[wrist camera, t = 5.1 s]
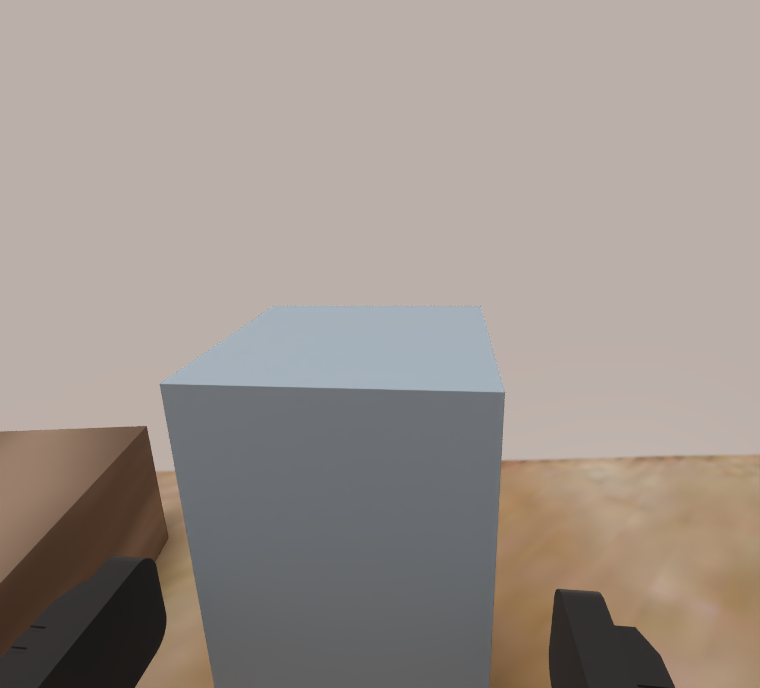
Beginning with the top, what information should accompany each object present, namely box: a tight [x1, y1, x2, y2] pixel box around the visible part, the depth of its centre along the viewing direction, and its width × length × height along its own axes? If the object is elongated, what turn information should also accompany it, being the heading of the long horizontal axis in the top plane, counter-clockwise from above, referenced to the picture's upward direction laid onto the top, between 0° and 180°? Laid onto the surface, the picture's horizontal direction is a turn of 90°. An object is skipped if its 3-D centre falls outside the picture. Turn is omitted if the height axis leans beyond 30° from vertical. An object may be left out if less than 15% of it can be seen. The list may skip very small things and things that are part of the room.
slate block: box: [160, 306, 505, 688], centre depth 12 cm, size 6×6×12 cm
